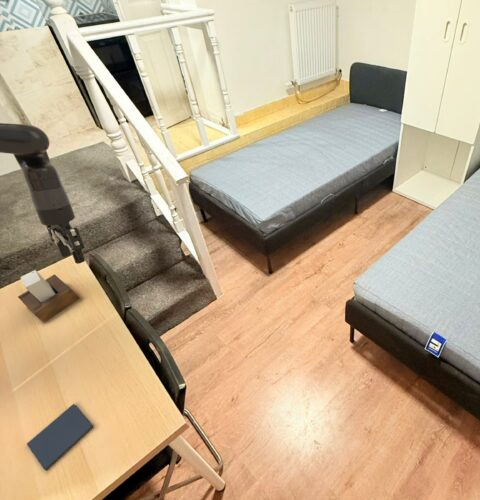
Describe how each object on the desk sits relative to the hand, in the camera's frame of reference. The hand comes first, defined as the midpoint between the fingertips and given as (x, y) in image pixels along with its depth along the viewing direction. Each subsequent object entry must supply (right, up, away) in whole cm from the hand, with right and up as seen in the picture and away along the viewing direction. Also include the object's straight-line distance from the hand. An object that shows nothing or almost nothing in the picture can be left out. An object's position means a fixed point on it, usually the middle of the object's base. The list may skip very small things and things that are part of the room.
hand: (73, 259), depth 95 cm
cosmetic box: (-16, -14, +13) cm, 25 cm away
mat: (+9, -41, -16) cm, 45 cm away
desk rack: (-16, -14, +13) cm, 25 cm away
